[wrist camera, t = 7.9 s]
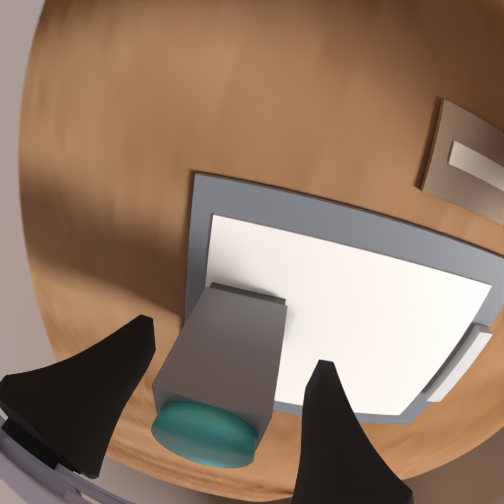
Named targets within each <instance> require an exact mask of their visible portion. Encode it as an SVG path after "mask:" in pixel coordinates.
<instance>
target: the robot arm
mask: <svg viewBox="0 0 504 504" xmlns="http://www.w3.org/2000/svg"><path fill="white" fill-rule="evenodd" d="M155 351H156V347H155V336H154V324H153V318H150V317H147V316H144V315H139V316H138V317H136V318H135V319H133V320H132V321H130V322H129V323H127V324H126V325H124V326H123V327H121V328H120V329H119V330H117V331H116V332H114V333H113V334H111V335H109V336H108V337H106V338H105V339H103V340H102V341H100V342H98V343H97V344H95V345H93V346H92V347H90V348H88V349H86V350H84V351H83V352H81V353H79V354H77V355H75V356H72V357H70V358H68V359H66V360H63V361H61V362H58V363H55V364H53V365H50V366H47V367H44V368H40V369H37V370H33V371H28V372H24V373H18V374H11V375H6V376H5V377H4V378H3V379H2V380H1V382H0V408H1V409H2V410H3V411H4V413H5V414H6V415H7V416H8V419H7V420H6V421H5V420H4V419H3V418H2V417H1V416H0V478H1V479H2V480H3V481H4V482H5V483H6V484H7V485H8V486H9V487H10V488H11V489H12V490H13V491H14V492H15V493H16V494H18V496H19V497H20V498H22V499H23V500H24V501H25V502H26V503H27V504H92V503H91V502H89V501H87V500H85V499H84V498H82V495H81V493H80V492H82V493H83V494H85V495H87V496H89V497H91V498H92V499H94V500H96V501H98V502H100V503H102V504H134V503H132V502H130V501H127V500H125V499H123V498H121V497H118V496H116V495H114V494H112V493H110V492H108V491H106V490H104V489H102V488H100V487H98V486H96V485H95V484H92V483H91V482H89V481H87V480H85V479H84V478H82V477H80V476H78V475H77V474H75V473H73V471H75V472H77V473H78V474H83V475H84V476H86V477H88V478H90V479H95V478H98V477H99V473H100V469H101V466H102V462H103V459H104V456H105V453H106V450H107V447H108V444H109V441H110V439H111V436H112V434H113V431H114V429H115V426H116V424H117V422H118V419H119V417H120V415H121V413H122V411H123V409H124V407H125V405H126V403H127V402H128V400H129V398H130V397H131V395H132V393H133V392H134V390H135V388H136V387H137V385H138V384H139V382H140V380H141V379H142V377H143V375H144V374H145V372H146V370H147V369H148V366H149V364H150V362H151V360H152V358H153V355H154V353H155ZM79 491H80V492H79ZM291 504H414V499H413V493H412V490H411V489H410V488H409V487H408V486H407V485H405V484H404V483H403V482H402V481H401V480H400V479H399V478H398V477H397V476H396V475H395V474H394V473H393V471H392V470H391V469H390V468H389V467H388V466H387V464H386V463H385V462H384V460H383V459H382V458H381V457H380V455H379V454H378V453H377V451H376V450H375V448H374V447H373V445H372V444H371V442H370V441H369V439H368V438H367V436H366V434H365V433H364V431H363V429H362V427H361V426H360V424H359V422H358V420H357V418H356V416H355V414H354V412H353V410H352V407H351V405H350V403H349V401H348V398H347V396H346V394H345V391H344V389H343V386H342V384H341V381H340V378H339V376H338V373H337V370H336V367H335V364H334V362H333V361H327V360H321V359H319V360H318V363H317V365H316V367H315V369H314V371H313V373H312V375H311V377H310V379H309V381H308V383H307V385H306V387H305V393H304V400H303V407H302V433H301V454H300V463H299V468H298V474H297V479H296V484H295V489H294V494H293V498H292V502H291Z"/></svg>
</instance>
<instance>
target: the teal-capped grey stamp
mask: <svg viewBox="0 0 504 504" xmlns="http://www.w3.org/2000/svg"><path fill="white" fill-rule="evenodd" d="M285 302H286V299H283V298H279V297H274V296H270V295H266V294H261V293H257V292H252V291H248V290H244V289H240V288H235V287H231V286H227V285H223V284H219V283H215V282H212V283H211V285H210V287H206V288H205V290H204V291H203V293H202V295H201V297H200V298H199V300H198V302H197V304H196V305H195V307H194V309H193V311H192V313H191V314H190V316H189V318H188V320H187V322H186V323H185V325H184V327H183V329H182V331H181V332H180V334H179V336H178V338H177V340H176V342H175V343H174V345H173V347H172V349H171V351H170V352H169V354H168V356H167V358H166V360H165V362H164V364H163V365H162V367H161V369H160V371H159V373H158V375H157V377H156V378H155V380H154V382H153V384H152V388H153V394H154V400H155V405H156V410H157V417H156V419H155V421H154V423H153V425H152V428H151V432H152V434H153V436H154V438H155V439H156V440H157V441H158V442H159V443H160V444H161V445H163V446H164V447H165V448H167V449H168V450H170V451H171V452H173V453H175V454H177V455H179V456H181V457H183V458H185V459H188V460H190V461H193V462H196V463H199V464H203V465H207V466H212V467H219V468H240V467H244V466H247V465H249V464H251V463H252V462H253V459H254V455H255V451H256V449H257V447H258V445H259V443H260V441H261V439H262V437H263V435H264V433H265V431H266V428H267V426H268V424H269V422H270V420H271V417H272V411H273V405H274V399H275V393H276V386H277V380H278V373H279V366H280V359H281V352H282V345H283V338H284V330H285V322H286V314H287V305H285Z"/></svg>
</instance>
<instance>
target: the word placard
mask: <svg viewBox="0 0 504 504" xmlns="http://www.w3.org/2000/svg"><path fill="white" fill-rule="evenodd" d="M420 190H421V191H422V192H425V193H428V194H430V195H433V196H436V197H438V198H441V199H443V200H446V201H448V202H451V203H453V204H456V205H458V206H461V207H463V208H465V209H468V210H470V211H472V212H475V213H477V214H479V215H481V216H484V217H486V218H488V219H490V220H492V221H494V222H497V223H499V224H501V225H503V226H504V133H503V132H502V131H500V130H499V129H497V128H495V127H494V126H492V125H491V124H489V123H487V122H486V121H484V120H482V119H481V118H479V117H477V116H475V115H474V114H472V113H470V112H468V111H466V110H465V109H463V108H461V107H459V106H457V105H455V104H453V103H451V102H449V101H447V100H445V99H442V100H441V105H440V111H439V116H438V121H437V125H436V130H435V134H434V139H433V143H432V147H431V151H430V155H429V159H428V163H427V166H426V170H425V174H424V177H423V180H422V184H421V187H420Z"/></svg>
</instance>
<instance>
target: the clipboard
mask: <svg viewBox="0 0 504 504" xmlns="http://www.w3.org/2000/svg"><path fill="white" fill-rule="evenodd" d="M212 282H215V283H219V284H223V285H227V286H231V287H235V288H240V289H244V290H248V291H252V292H257V293H261V294H266V295H270V296H274V297H279V298H283V299H286V302H285V305H287V314H286V322H285V330H284V338H283V345H282V352H281V359H280V366H279V373H278V380H277V386H276V393H275V399H274V405H273V411H277V412H283V413H288V414H294V415H300V416H302V407H303V400H304V393H305V387H306V385H307V383H308V381H309V379H310V377H311V375H312V373H313V371H314V369H315V367H316V365H317V363H318V360H319V359H321V360H327V361H333V362H334V364H335V367H336V370H337V373H338V376H339V378H340V381H341V384H342V386H343V389H344V391H345V394H346V396H347V398H348V401H349V403H350V405H351V407H352V410H353V412H354V414H355V416H356V418H357V420H358V422H359V423H374V424H409V425H410V424H411V423H412V422H413V421H414V420H415V419H416V418H417V417H418V416H419V415H420V414H421V413H422V412H423V411H424V410H425V409H426V408H427V407H428V406H429V405H430V404H431V403H432V402H433V401H441V400H442V398H443V397H444V396H445V395H446V394H447V393H448V392H449V391H450V390H451V388H452V387H453V386H454V385H455V384H456V383H457V381H458V380H459V379H460V378H461V377H462V375H463V374H464V373H465V372H466V370H467V369H468V368H469V367H470V365H471V364H472V363H473V361H474V360H475V359H476V357H477V356H478V355H479V353H480V352H481V351H482V349H483V348H484V346H485V345H486V343H487V342H488V341H489V339H490V338H491V336H492V335H493V334H492V332H491V330H490V329H489V328H490V326H491V325H492V323H493V321H494V320H495V318H496V317H497V315H498V313H499V312H500V310H501V308H502V306H503V305H504V257H503V256H501V255H498V254H496V253H493V252H490V251H488V250H485V249H483V248H480V247H477V246H475V245H472V244H469V243H467V242H464V241H461V240H458V239H455V238H453V237H450V236H447V235H444V234H441V233H438V232H435V231H432V230H429V229H426V228H423V227H420V226H417V225H414V224H411V223H407V222H404V221H401V220H398V219H395V218H391V217H388V216H384V215H381V214H378V213H374V212H371V211H367V210H364V209H360V208H356V207H353V206H349V205H345V204H342V203H338V202H334V201H330V200H326V199H322V198H318V197H314V196H310V195H306V194H302V193H298V192H293V191H289V190H285V189H280V188H276V187H271V186H267V185H262V184H257V183H252V182H247V181H242V180H237V179H232V178H227V177H222V176H216V175H211V174H205V173H200V172H198V173H197V174H195V181H194V191H193V200H192V210H191V221H190V233H189V245H188V259H187V275H186V293H185V317H184V325H185V323H186V322H187V320H188V318H189V316H190V314H191V313H192V311H193V309H194V307H195V305H196V304H197V302H198V300H199V298H200V297H201V295H202V293H203V291H204V290H205V288H206V287H210V285H211V283H212Z"/></svg>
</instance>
